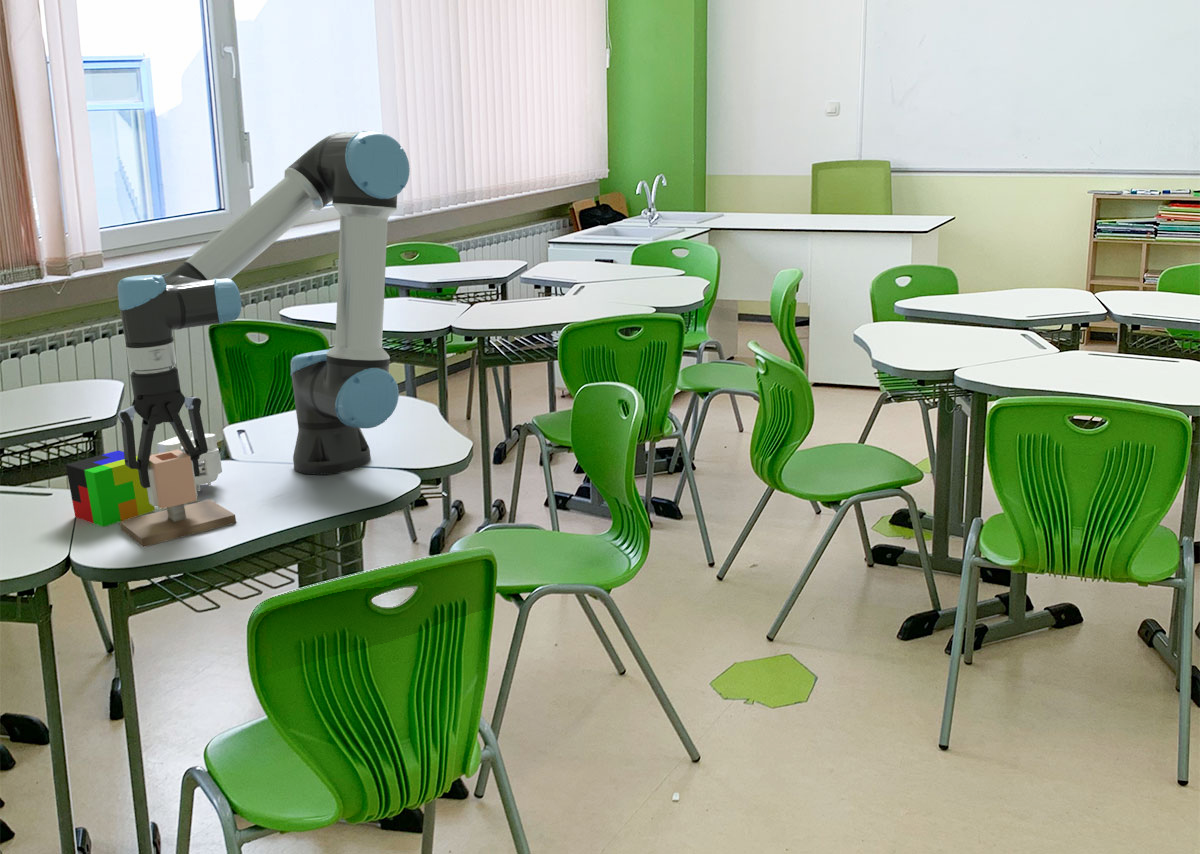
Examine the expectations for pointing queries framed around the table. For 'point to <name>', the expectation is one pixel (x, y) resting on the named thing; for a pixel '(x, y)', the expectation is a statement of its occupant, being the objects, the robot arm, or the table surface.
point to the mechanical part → (207, 461)
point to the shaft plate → (177, 522)
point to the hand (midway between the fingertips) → (173, 499)
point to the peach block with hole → (173, 478)
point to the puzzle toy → (106, 490)
